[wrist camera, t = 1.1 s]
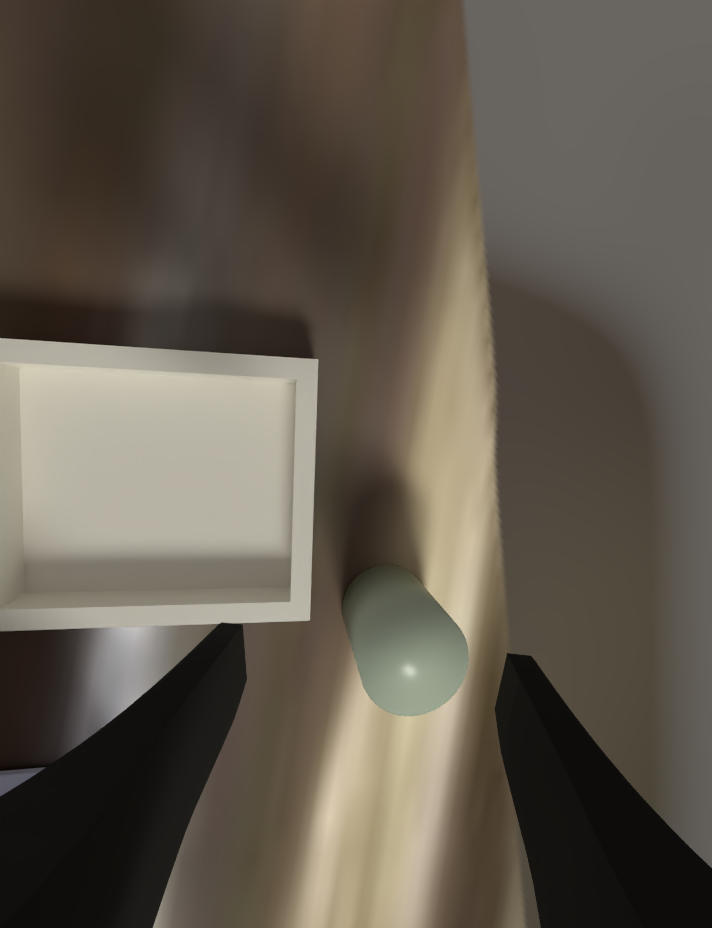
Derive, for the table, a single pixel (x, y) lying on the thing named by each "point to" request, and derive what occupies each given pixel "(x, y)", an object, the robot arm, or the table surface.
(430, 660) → the sage rounded cylinder
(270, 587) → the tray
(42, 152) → the table surface
